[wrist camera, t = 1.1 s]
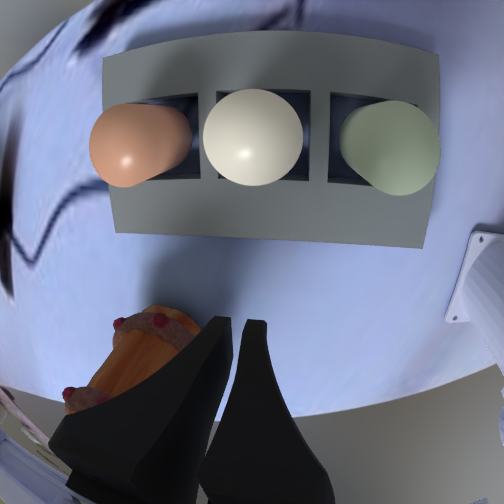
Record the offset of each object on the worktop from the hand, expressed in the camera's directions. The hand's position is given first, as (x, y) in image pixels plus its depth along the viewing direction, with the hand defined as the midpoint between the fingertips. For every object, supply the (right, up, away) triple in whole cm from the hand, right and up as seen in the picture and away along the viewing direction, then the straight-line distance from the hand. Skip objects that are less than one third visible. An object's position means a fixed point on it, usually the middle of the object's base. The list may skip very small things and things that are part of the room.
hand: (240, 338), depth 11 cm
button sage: (+7, +9, +3) cm, 12 cm away
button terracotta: (-5, +10, +5) cm, 12 cm away
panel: (+1, +10, +5) cm, 12 cm away
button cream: (+1, +10, +4) cm, 10 cm away
